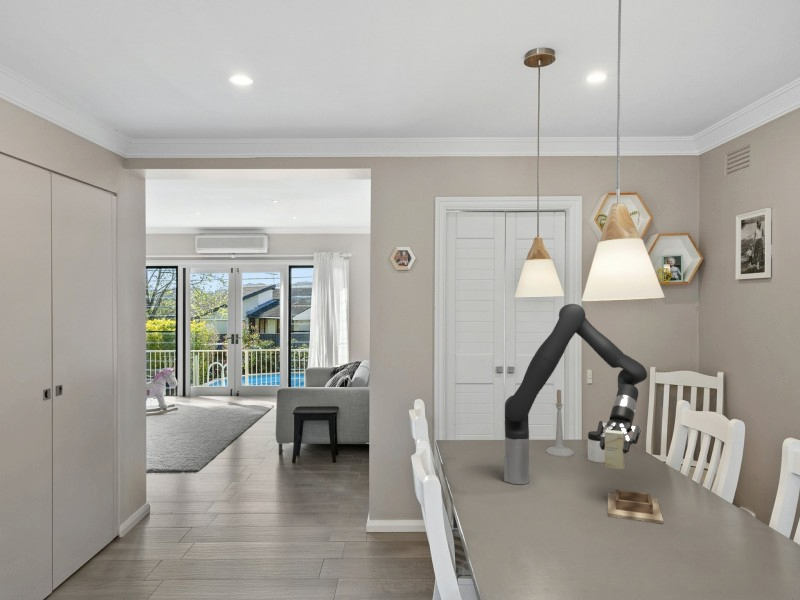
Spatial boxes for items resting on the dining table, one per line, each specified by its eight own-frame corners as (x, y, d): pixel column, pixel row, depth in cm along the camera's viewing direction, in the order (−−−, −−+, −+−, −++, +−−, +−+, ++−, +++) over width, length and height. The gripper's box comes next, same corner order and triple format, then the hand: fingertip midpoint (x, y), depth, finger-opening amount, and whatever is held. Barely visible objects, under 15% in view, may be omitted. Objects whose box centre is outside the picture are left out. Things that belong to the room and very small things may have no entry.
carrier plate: (608, 516, 165) (607, 503, 165) (607, 495, 183) (607, 484, 183) (663, 524, 159) (662, 511, 159) (657, 501, 177) (657, 490, 177)
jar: (583, 458, 229) (583, 432, 230) (596, 456, 233) (595, 430, 234) (599, 464, 222) (599, 436, 222) (612, 461, 225) (612, 434, 226)
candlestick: (577, 456, 233) (576, 391, 234) (549, 456, 233) (549, 391, 234) (568, 449, 246) (568, 387, 246) (542, 449, 246) (541, 387, 247)
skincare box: (604, 467, 175) (603, 432, 175) (606, 463, 179) (604, 429, 179) (624, 469, 172) (623, 433, 172) (625, 466, 176) (624, 430, 176)
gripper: (600, 402, 186) (589, 441, 177) (642, 406, 177) (632, 447, 168) (606, 414, 190) (595, 453, 181) (647, 419, 181) (637, 460, 172)
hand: (613, 450), depth 174 cm, fingers closed on skincare box, 7 cm apart
